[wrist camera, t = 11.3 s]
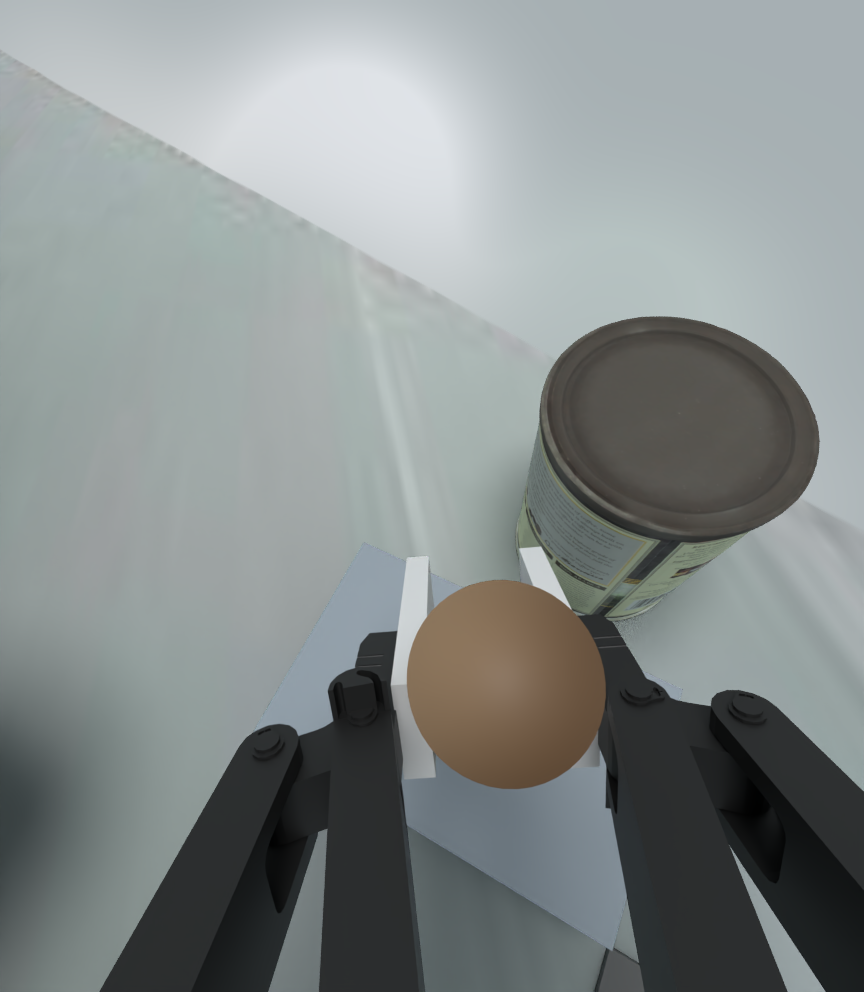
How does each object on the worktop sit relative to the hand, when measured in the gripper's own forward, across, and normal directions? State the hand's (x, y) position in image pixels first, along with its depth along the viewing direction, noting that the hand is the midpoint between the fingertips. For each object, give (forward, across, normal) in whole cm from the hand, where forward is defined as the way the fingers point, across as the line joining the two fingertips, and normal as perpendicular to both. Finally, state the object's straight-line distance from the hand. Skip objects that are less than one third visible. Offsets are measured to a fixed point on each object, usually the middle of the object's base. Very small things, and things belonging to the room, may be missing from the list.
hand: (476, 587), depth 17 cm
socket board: (+7, -1, -12) cm, 14 cm away
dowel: (0, 0, -5) cm, 5 cm away
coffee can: (+14, +8, -5) cm, 17 cm away
